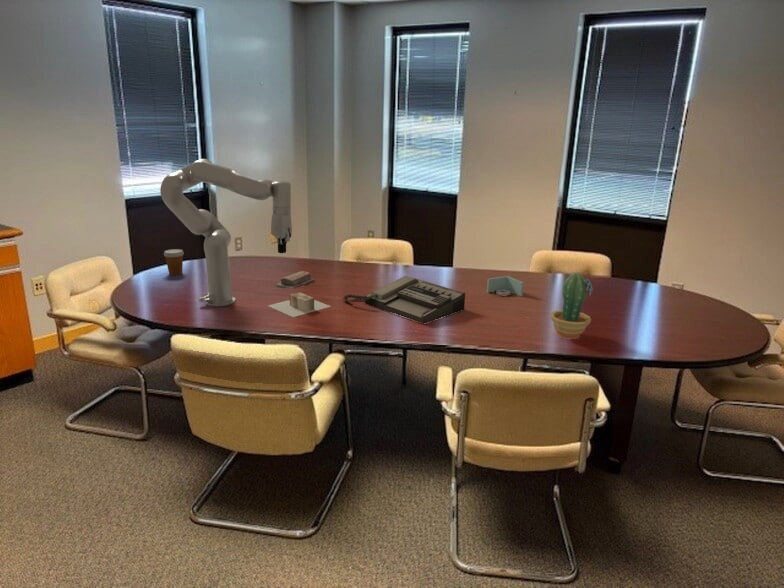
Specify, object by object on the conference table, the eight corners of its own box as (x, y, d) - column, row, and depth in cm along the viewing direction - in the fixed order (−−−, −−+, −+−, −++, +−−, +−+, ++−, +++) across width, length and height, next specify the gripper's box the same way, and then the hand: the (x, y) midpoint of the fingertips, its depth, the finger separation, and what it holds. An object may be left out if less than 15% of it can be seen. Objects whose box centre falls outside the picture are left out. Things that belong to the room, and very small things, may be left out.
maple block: (289, 305, 244) (304, 311, 237) (289, 294, 242) (304, 300, 235) (299, 302, 247) (314, 309, 240) (298, 292, 246) (314, 298, 238)
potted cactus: (572, 346, 209) (580, 282, 201) (539, 333, 221) (546, 272, 213) (597, 337, 217) (606, 276, 210) (564, 325, 229) (571, 266, 221)
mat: (293, 318, 230) (293, 317, 230) (267, 306, 243) (267, 305, 243) (331, 307, 244) (331, 306, 244) (304, 297, 257) (304, 296, 256)
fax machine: (337, 303, 251) (337, 282, 248) (391, 287, 275) (391, 269, 272) (410, 330, 221) (411, 308, 219) (464, 310, 245) (465, 290, 242)
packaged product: (298, 269, 286) (314, 272, 281) (298, 278, 287) (314, 281, 283) (275, 277, 270) (292, 280, 266) (275, 287, 272) (292, 290, 268)
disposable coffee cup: (166, 271, 291) (164, 249, 288) (185, 270, 294) (183, 248, 290) (165, 276, 283) (162, 253, 279) (185, 275, 285) (183, 252, 282)
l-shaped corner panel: (486, 293, 269) (487, 278, 267) (506, 290, 275) (507, 275, 272) (502, 301, 259) (503, 285, 257) (522, 297, 265) (523, 282, 262)
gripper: (264, 208, 241) (265, 250, 246) (283, 214, 230) (283, 257, 236) (280, 207, 245) (280, 248, 251) (299, 213, 235) (298, 255, 241)
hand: (282, 252), depth 243 cm, fingers closed
